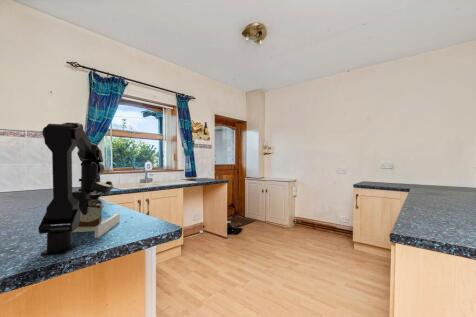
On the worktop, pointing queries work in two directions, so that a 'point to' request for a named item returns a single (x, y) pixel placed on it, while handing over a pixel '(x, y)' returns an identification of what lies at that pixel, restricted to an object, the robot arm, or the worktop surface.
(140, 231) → the worktop surface
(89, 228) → the resting mat
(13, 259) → the worktop surface
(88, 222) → the food container
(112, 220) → the low wall
